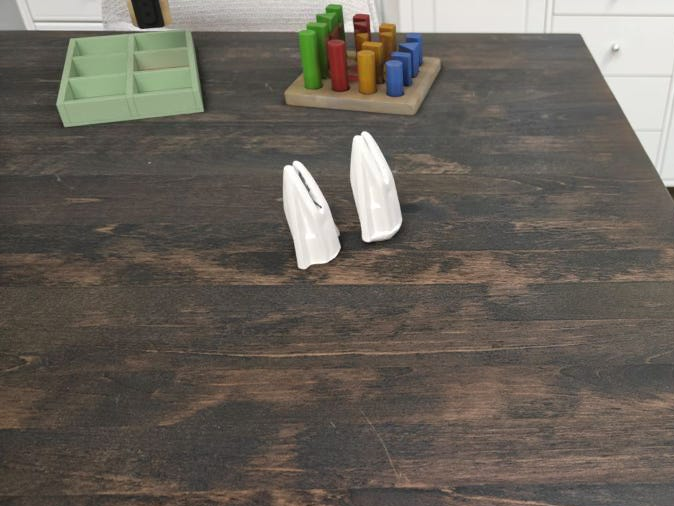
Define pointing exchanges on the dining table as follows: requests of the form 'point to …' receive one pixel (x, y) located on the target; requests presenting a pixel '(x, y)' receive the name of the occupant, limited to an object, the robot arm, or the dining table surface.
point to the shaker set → (314, 213)
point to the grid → (129, 78)
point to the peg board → (360, 67)
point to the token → (164, 8)
